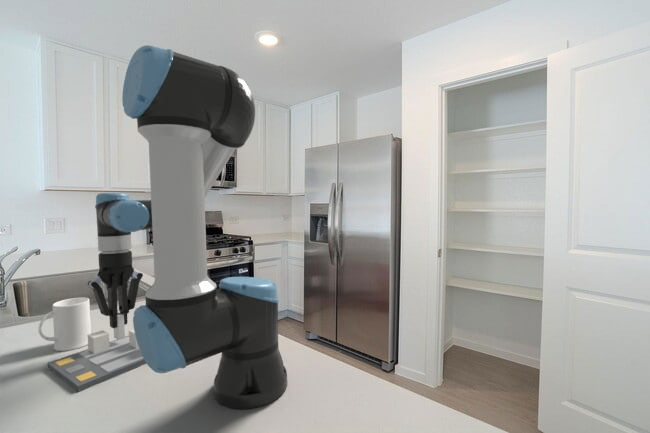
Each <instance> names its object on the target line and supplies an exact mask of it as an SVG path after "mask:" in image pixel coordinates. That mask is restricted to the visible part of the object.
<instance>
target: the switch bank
mask: <svg viewBox="0 0 650 433" xmlns="http://www.w3.org/2000/svg"><path fill="white" fill-rule="evenodd" d="M109 347H110V348H109V349H106V350H103V351H101V352H98V353H95V354H94V353H92V352H90V351H89V350H88V348H87V349H84V350H80V351H79V352H76V353H73V354H70V355H67V356H64V357H61V358H57V359H54V360H51V361H48V362H47V366H46V367H47V369H49V370H50V371H51V372H53V373H54V374H55V375H56V376H58V378H59V379H61V380H63V381H64V382H65V383H66V384H67V385H69V386H70V387H72V388H73V389H74V390H75V391H77V392H82V391H84V390H86V389H87V390H88V389H89V388H91V387H94V386H96V385H98V384H100V383H102V382H105V381H107V380H110V379H112V378H114V377H118V376H120V375H122V374H124V373H127V372H129V371H132V370H134V369H136V368H137V369H138V368H139V367H142V366H144V365H146V364H147V363H146V361H145V360H144V358H143V356H142V354H141V351H140V349H139V348H134V347H132V346H130V345H129V335H125V338H124V339H121V340H118V339H114V340H111V341H109Z"/></svg>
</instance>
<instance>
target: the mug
mask: <svg viewBox="0 0 650 433" xmlns="http://www.w3.org/2000/svg"><path fill="white" fill-rule="evenodd" d="M90 305H91V304H90V298H88V297H73V298H67V299H62V300H59V301H56V302H54V303H53V304H52V310H51V311H49V312H48V313H47V314H45V315H44V316H43V317H42V319H41V320H40V322H39V325H38V333H39V335H40V337H41V338H42V339H44V340H45V341H48V342H54V344H53V350H54V351H57V352H67V351H73V350H78V349H80V348H83V347H86V346H88V336H87V335H89V334H92V327H91V326H92V325H91V324H92V323H91V310H90V309H91V306H90ZM51 316H52V318H53V322H52V323H53V336H51V337H49V336H47V335H44V333H43V332H42V331H43V330H42V327H43V325H44V323H45V321H46V320H47V319H48V318H50V317H51Z"/></svg>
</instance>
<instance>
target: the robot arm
mask: <svg viewBox="0 0 650 433" xmlns="http://www.w3.org/2000/svg"><path fill="white" fill-rule="evenodd" d="M121 100H122V101H121V102H122V107H123V112H124V114H125V116H127V117H129V118H131V119H133V120H134V119H136V123H137V132H138V133H139V134H140V135H141V136H142V137H143V138H144V139H145V140H146V141H147V143H148V158H149V159H148V160H149V161H148V162H149V179H150V181H149V182H150V199H142V200H141V199H140V200H137V199H136V200H134V199H130V195H129V194H127V193H125V192H123V193H122V192H107V193H105V192H104V193H103V192H102V193H97V195H96V196H95V207H94V208H95V212H96V228H97V230H96V231H97V250H98V251H99V252H100V253H99V254H98V269H99V270H98V273H97V276H96V277H95V278H94V279H93V280H89V281H88V282H87V285H88V286H89V288H90V289H91V290H92V292H93V294H94V297H95V300H96V303H97V305H98V309H99V312H100V314H101V315H104V316H105V317H108V318H109V326H110V328H111V329H113V338H114V339H115V340H117V339H118V340H121V339H124V338H125V337H126V333H125V332H126V331H125V326H126V325H127V324H128V314H129V313H130V310H134V308H135V310H134V312H133V317H132V324H133V329H134V331H135V336H136V340H137V343H138V346H139V349H140V351H141V354H142V356H143V358H144V360H145V361H146V364H147V367H149V368H150V369H151V370H152V371H153V372H155V373H158V374H166V373H170V372H172V371H176V370H178V369H185V368H186V367H188V366H190V365H193V364H195V363H198V362H200V361H203V360H205V359H209V358H211V357H213V356H216V355H218V354H221V355H220V356H221V357H220V359H219V365H218V368H217V371H216V372H217V373H216V374H215V377H214V379H213V396H214V399H215V400H216V401H217V403H219V404H220V405H222V406H224V407H227V408H231V409H237V410H238V409H239V410H247V409H254V408H259V407H262V406H265V405H268V404H270V403H272V402H274V401H276V400H278V399H279V398H280V397H281V396H282V395H283V394H284V393H285V391H286V390H287V387H288V373H287V372H288V371H287V369H286V367H285V365H284V361H283V358H282V354H281V351H280V349H279V322H278V321H279V319H278V318H279V316H278V315H279V309H278V308H279V298H278V288H277V284H275V283H274V282H273V281H272V280H269V279H267V278H262V277H253V276H251V277H250V276H231V277H224V278H222V279H220V281H219V284H218V285H217V283H216V282H214V281H213V280H212V279H211V278H210V277H209V276H208V254H207V253H208V252H207V233H206V232H207V230H206V229H207V228H206V205H205V204H206V202H205V199H206V197H207V195H208V194H209V192H210V190H211V189H212V187H213V185H214V183H216V180H217V179H218V177H219V176H220V174H221V172H222V171H223V170H224V168H225V167H226V164H228V161H229V160H230V158H231V157H232V155H233V154H234V152H235V150H236V149H240V148H242V147H243V146H244V145H245V144H246V142H247V140H248V139H249V137H251V136H250V135H251V133H252V132H253V128H254V125H255V120H256V104H255V99H254V97H253V94H252V91H251V89H250V87H249V85H248V84H247V82H246V81H245V80H244V79H243V78H242V77H241V76H240V75H239V73H237V72H235V71H234V70H233V69H230V68H228V67H225V66H222V65H217V64H214V63H210V62H208V61H204V60H201V59H197V58H194V57H191V56H188V55H186V54H183V53H182V54H181V53H179V52H176V51H173V50H172V49H167V48H166V49H165V48H161V47H156V46H154V45H149V44H148V45H142V46H140V47H139V48H138V49H136V51H134V53H133V55H132V56H131V58H130V60H129V63H128V66H127V68H126V72H125V77H124V81H123V86H122V98H121ZM147 230H152V248H153V268H154V271H153V272H154V282H153V284H152V285H151V286H150V287H149V288H148V289H147V290H146V291H145V295H144V296H145V304H144V305H140V306H138V307H137V308H136V302H137V296H138V292H139V287H140V286H139V285H140V282H141V280H142V278H143V273H142V272H138V271H136V270H135V269H134V268H135V267H133V251H132V250H131V249H132V247H133V246H132V233H134V232H136V233H137V232H139V231H147ZM129 280H130V282H129ZM128 282H129V283H128ZM102 283H103V284H104V285H105V287H106V291H107V300H106V297H105V294H104V291H103V288H102V287H101V286H102ZM128 284H129V285H128ZM217 286H218V287H217ZM128 287H129V288H128ZM217 288H218V289H217ZM118 311H119V312H118Z"/></svg>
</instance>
